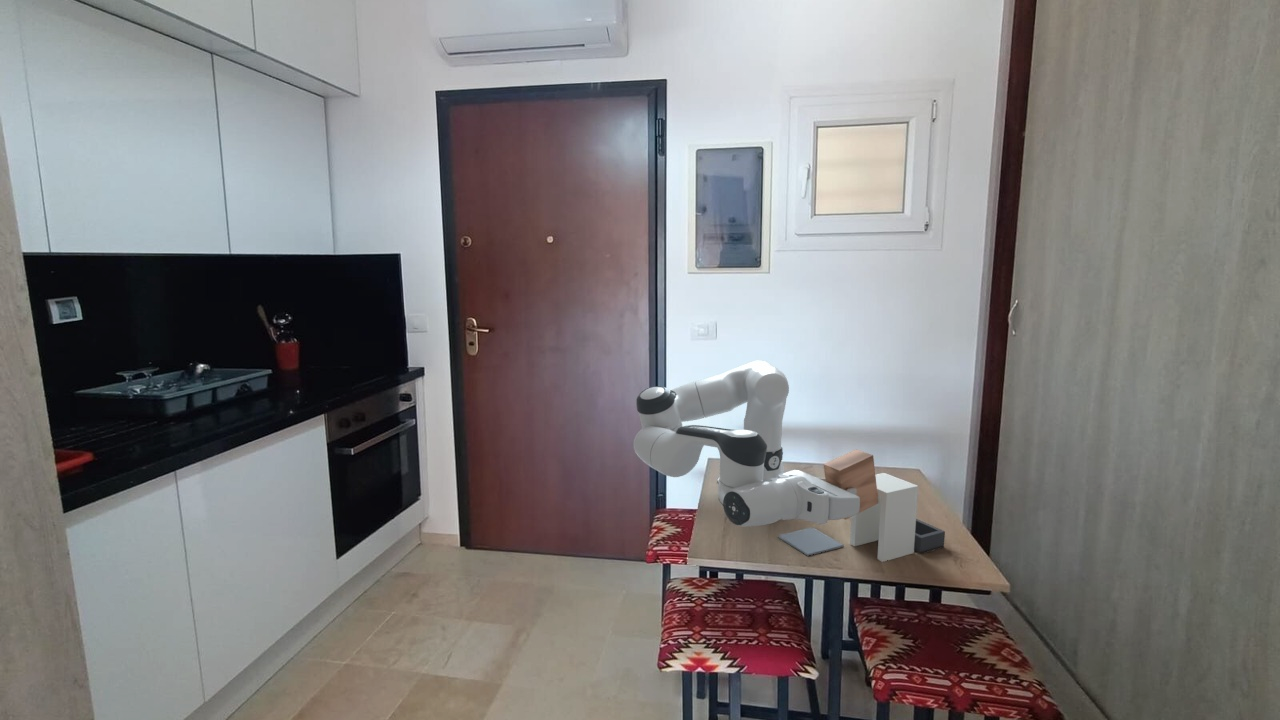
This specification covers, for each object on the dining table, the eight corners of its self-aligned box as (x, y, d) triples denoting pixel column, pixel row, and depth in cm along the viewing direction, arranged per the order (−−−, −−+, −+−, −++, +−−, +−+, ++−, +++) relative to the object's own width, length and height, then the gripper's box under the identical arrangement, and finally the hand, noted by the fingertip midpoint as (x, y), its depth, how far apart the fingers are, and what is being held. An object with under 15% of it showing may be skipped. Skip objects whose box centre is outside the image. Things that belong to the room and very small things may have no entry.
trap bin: (879, 533, 150) (880, 518, 149) (902, 527, 153) (903, 513, 153) (920, 554, 139) (921, 537, 138) (943, 547, 142) (945, 531, 142)
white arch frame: (849, 543, 144) (853, 478, 142) (880, 536, 148) (884, 472, 146) (882, 561, 135) (886, 492, 133) (913, 553, 140) (918, 485, 137)
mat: (777, 537, 148) (777, 535, 148) (812, 529, 153) (812, 527, 153) (807, 556, 138) (807, 554, 138) (843, 546, 143) (843, 544, 143)
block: (829, 511, 136) (823, 464, 134) (861, 495, 140) (856, 449, 137) (845, 519, 132) (839, 470, 129) (878, 503, 136) (873, 455, 133)
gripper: (764, 493, 138) (811, 484, 144) (827, 528, 119) (877, 516, 125) (765, 467, 137) (812, 459, 143) (828, 498, 118) (879, 487, 124)
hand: (843, 486), depth 134 cm, fingers closed on block, 5 cm apart
